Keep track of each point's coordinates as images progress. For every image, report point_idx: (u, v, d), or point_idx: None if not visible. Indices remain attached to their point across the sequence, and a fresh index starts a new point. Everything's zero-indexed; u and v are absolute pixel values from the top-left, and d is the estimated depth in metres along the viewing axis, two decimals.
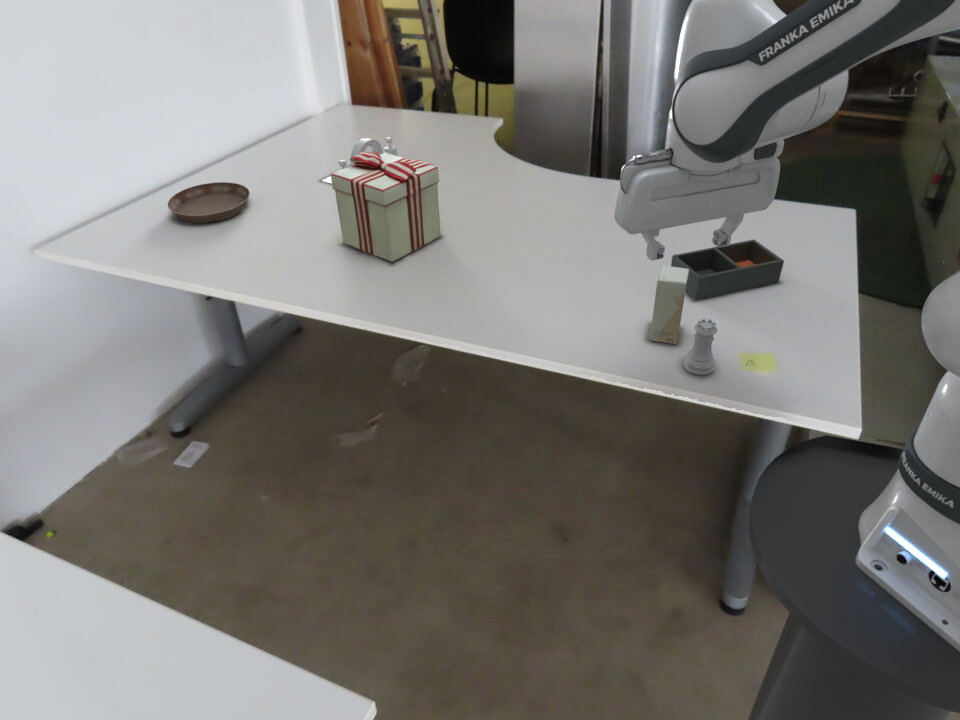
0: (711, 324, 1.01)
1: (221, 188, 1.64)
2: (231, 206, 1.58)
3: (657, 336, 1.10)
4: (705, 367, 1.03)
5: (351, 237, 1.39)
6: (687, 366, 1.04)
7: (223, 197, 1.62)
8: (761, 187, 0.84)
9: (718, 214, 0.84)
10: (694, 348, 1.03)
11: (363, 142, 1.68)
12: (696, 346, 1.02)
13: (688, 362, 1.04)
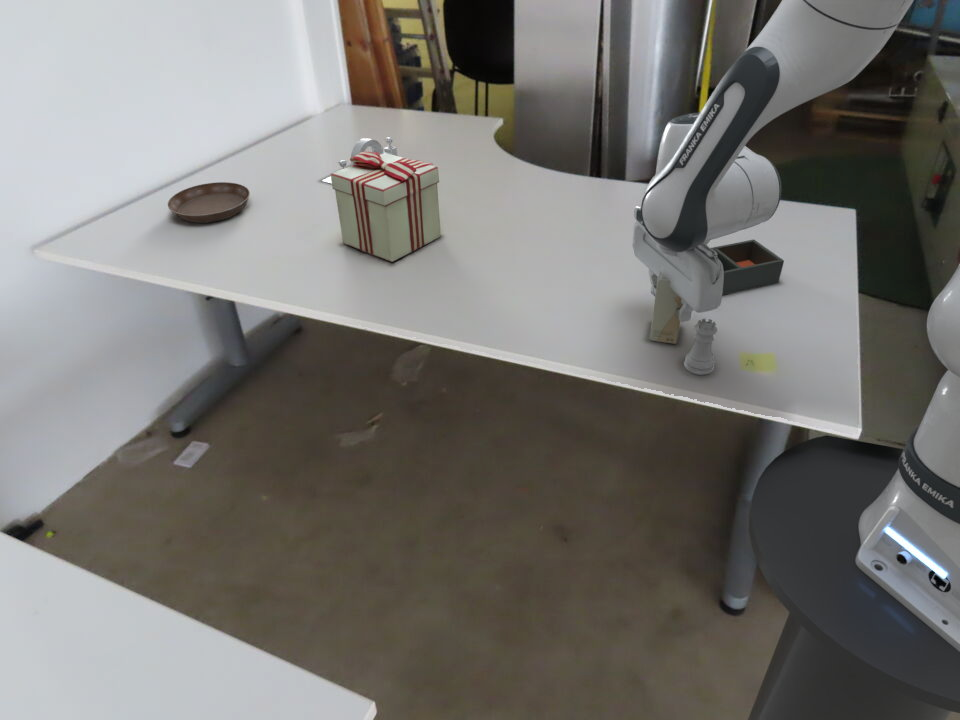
0: (711, 324, 1.01)
1: (221, 188, 1.64)
2: (231, 206, 1.58)
3: (657, 336, 1.10)
4: (705, 367, 1.03)
5: (351, 237, 1.39)
6: (687, 366, 1.04)
7: (223, 197, 1.62)
8: None
9: None
10: (694, 348, 1.03)
11: (363, 142, 1.67)
12: (696, 346, 1.02)
13: (688, 362, 1.04)
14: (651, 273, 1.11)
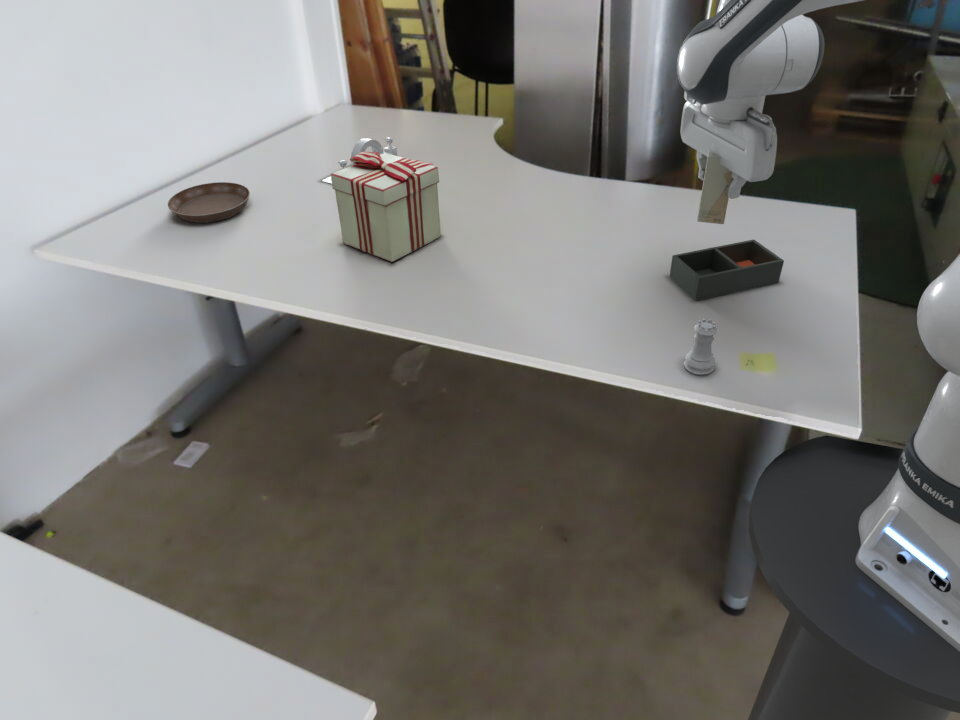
0: (711, 324, 1.01)
1: (221, 188, 1.64)
2: (231, 206, 1.58)
3: (705, 217, 1.13)
4: (705, 367, 1.03)
5: (351, 237, 1.39)
6: (687, 366, 1.04)
7: (223, 197, 1.62)
8: None
9: None
10: (694, 348, 1.03)
11: (363, 142, 1.67)
12: (696, 346, 1.02)
13: (688, 362, 1.04)
14: (699, 156, 1.13)
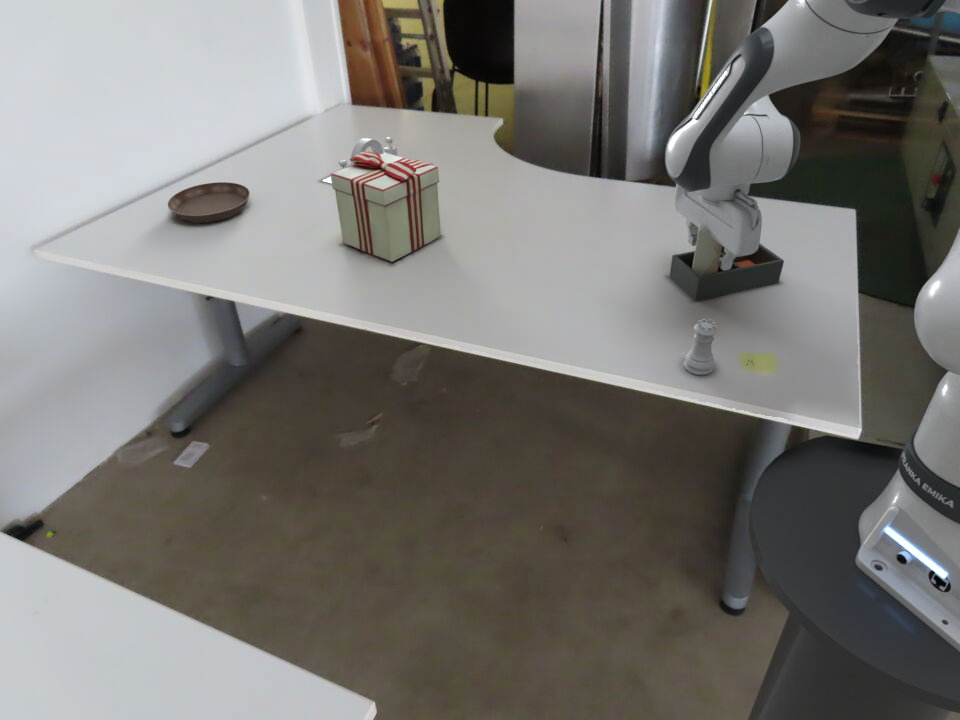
0: (711, 324, 1.01)
1: (221, 188, 1.64)
2: (231, 206, 1.58)
3: None
4: (705, 367, 1.03)
5: (351, 237, 1.39)
6: (687, 366, 1.04)
7: (223, 197, 1.62)
8: None
9: None
10: (694, 348, 1.03)
11: (363, 142, 1.67)
12: (696, 346, 1.02)
13: (688, 362, 1.04)
14: (688, 223, 1.23)
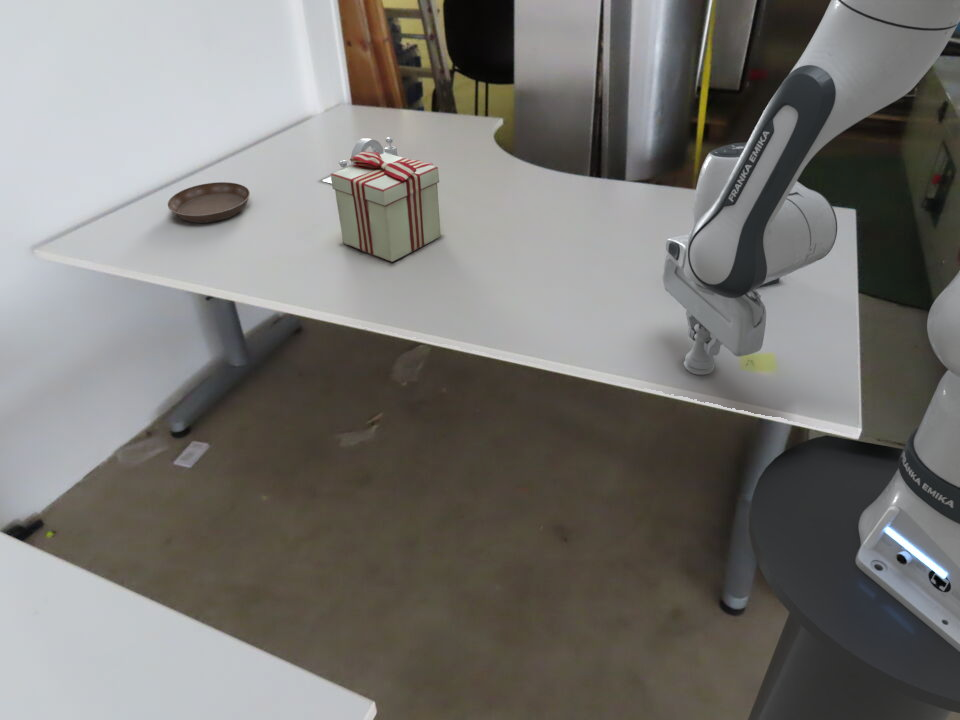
0: None
1: (221, 188, 1.64)
2: (231, 206, 1.58)
3: None
4: (705, 367, 1.03)
5: (351, 237, 1.39)
6: (687, 366, 1.04)
7: (223, 197, 1.62)
8: None
9: None
10: (694, 348, 1.03)
11: (363, 142, 1.67)
12: (696, 346, 1.02)
13: (688, 362, 1.04)
14: (689, 314, 1.03)
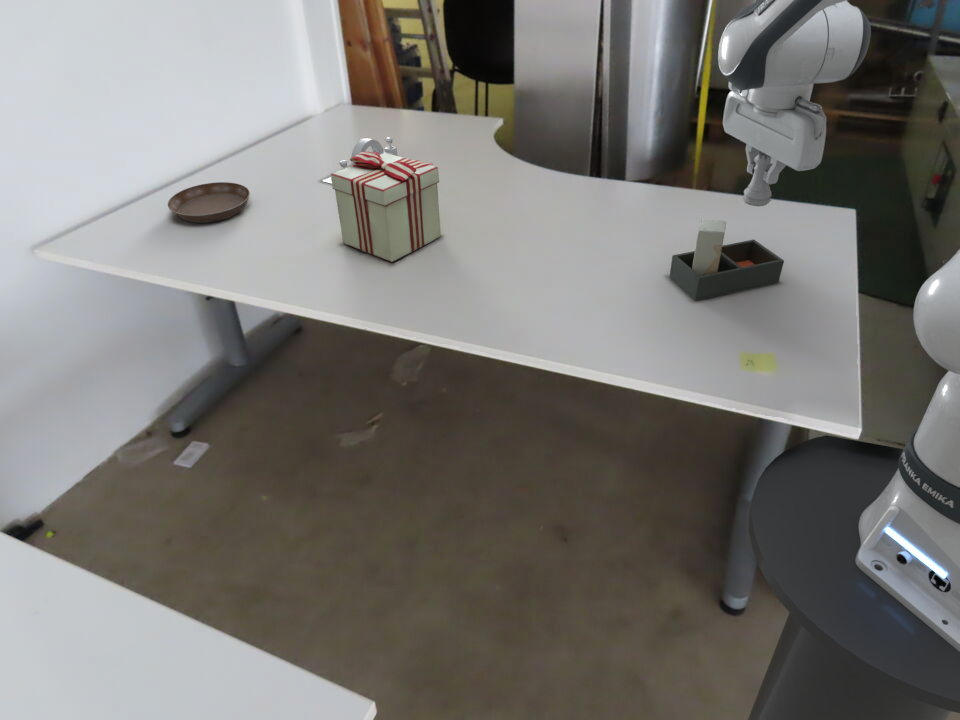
0: None
1: (221, 188, 1.64)
2: (231, 206, 1.58)
3: None
4: (763, 197, 1.12)
5: (351, 237, 1.39)
6: (746, 199, 1.14)
7: (223, 197, 1.62)
8: None
9: None
10: (753, 180, 1.12)
11: (363, 142, 1.67)
12: (755, 177, 1.12)
13: (747, 194, 1.13)
14: (749, 149, 1.12)
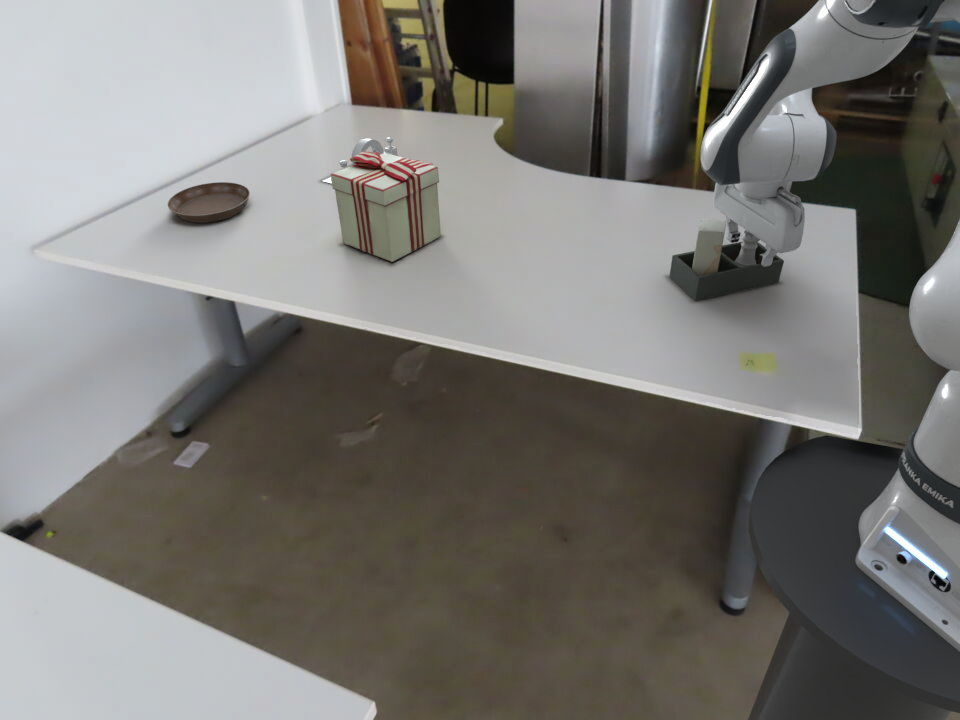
0: None
1: (221, 188, 1.64)
2: (231, 206, 1.58)
3: None
4: None
5: (351, 237, 1.39)
6: None
7: (223, 197, 1.62)
8: None
9: None
10: (740, 255, 1.23)
11: (364, 142, 1.67)
12: (742, 252, 1.23)
13: None
14: (728, 220, 1.25)
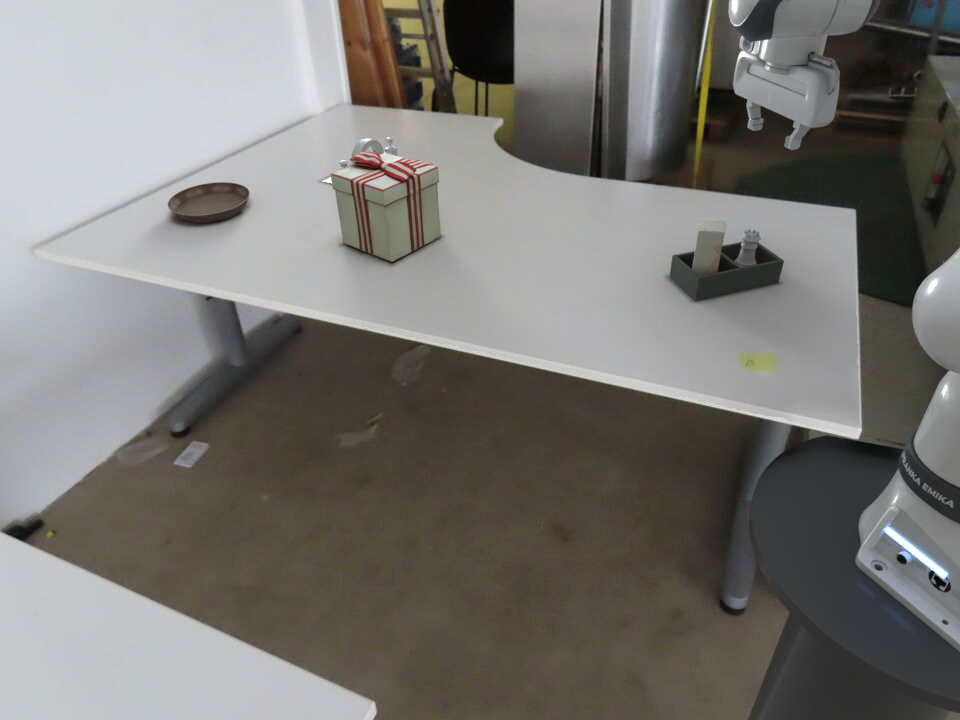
0: (755, 233, 1.21)
1: (221, 188, 1.64)
2: (231, 206, 1.58)
3: None
4: None
5: (351, 237, 1.39)
6: None
7: (223, 197, 1.62)
8: None
9: None
10: (740, 255, 1.23)
11: (364, 142, 1.67)
12: (742, 252, 1.23)
13: None
14: (749, 105, 1.13)
